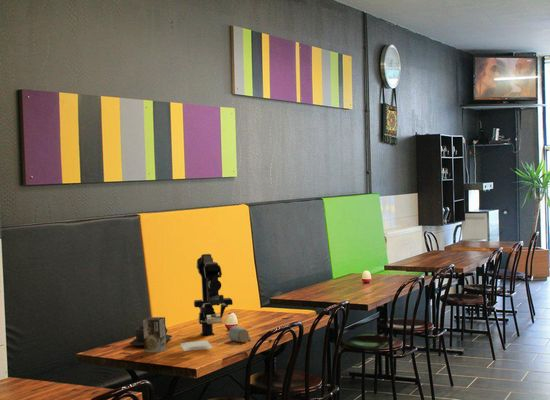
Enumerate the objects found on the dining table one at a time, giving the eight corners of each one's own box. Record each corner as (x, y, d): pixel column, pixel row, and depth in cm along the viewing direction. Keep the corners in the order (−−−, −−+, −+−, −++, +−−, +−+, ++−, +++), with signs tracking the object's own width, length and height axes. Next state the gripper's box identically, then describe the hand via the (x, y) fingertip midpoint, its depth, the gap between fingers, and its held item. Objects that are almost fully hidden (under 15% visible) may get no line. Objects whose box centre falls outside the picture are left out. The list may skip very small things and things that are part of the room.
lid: (205, 320, 372) (205, 313, 372) (219, 318, 374) (218, 312, 374) (208, 324, 361) (207, 317, 361) (222, 323, 363) (222, 316, 363)
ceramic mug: (239, 344, 366) (238, 328, 366) (228, 342, 372) (228, 326, 372) (254, 340, 374) (254, 325, 374) (244, 338, 380) (243, 323, 379)
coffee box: (167, 350, 359) (165, 317, 359) (160, 353, 353) (159, 319, 353) (150, 349, 362) (149, 316, 362) (143, 352, 356) (142, 319, 356)
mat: (179, 344, 372) (179, 343, 372) (207, 341, 375) (207, 340, 375) (184, 351, 354) (184, 350, 354) (213, 349, 358) (213, 348, 358)
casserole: (152, 337, 391) (151, 321, 391) (180, 339, 382) (180, 323, 382) (121, 347, 369) (120, 330, 369) (150, 350, 360) (149, 333, 360)
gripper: (195, 292, 357) (196, 324, 358) (233, 289, 361) (234, 321, 362) (193, 288, 368) (194, 320, 369) (230, 286, 372) (231, 317, 373)
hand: (213, 319), depth 368 cm, fingers closed on lid, 7 cm apart
